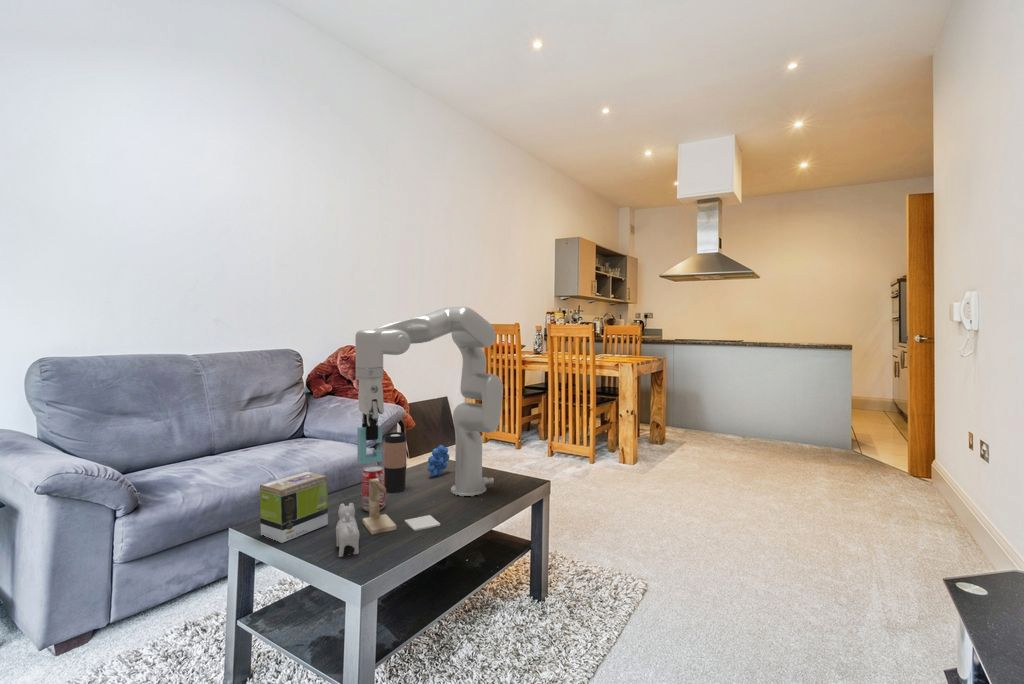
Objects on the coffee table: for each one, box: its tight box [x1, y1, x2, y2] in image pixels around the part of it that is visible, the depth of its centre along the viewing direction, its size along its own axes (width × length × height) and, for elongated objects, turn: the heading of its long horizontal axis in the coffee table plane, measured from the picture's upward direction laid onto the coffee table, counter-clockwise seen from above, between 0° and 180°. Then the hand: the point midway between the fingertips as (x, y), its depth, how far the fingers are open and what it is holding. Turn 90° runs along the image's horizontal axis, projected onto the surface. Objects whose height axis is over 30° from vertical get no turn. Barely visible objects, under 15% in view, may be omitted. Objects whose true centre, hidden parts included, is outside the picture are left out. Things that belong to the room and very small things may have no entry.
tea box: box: [259, 470, 329, 544], centre depth 137 cm, size 15×10×15 cm
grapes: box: [427, 444, 450, 477], centre depth 192 cm, size 12×7×12 cm, turn 145°
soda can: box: [361, 465, 386, 513], centre depth 155 cm, size 7×7×13 cm
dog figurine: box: [335, 502, 361, 558], centre depth 127 cm, size 5×13×11 cm, turn 26°
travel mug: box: [383, 431, 407, 494], centre depth 174 cm, size 8×8×20 cm
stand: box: [362, 478, 397, 535], centre depth 141 cm, size 7×11×12 cm, turn 32°
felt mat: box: [404, 514, 441, 532], centre depth 144 cm, size 8×8×1 cm
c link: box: [356, 424, 383, 465], centre depth 137 cm, size 6×4×10 cm, turn 121°
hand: (370, 437), depth 137 cm, fingers closed on c link, 3 cm apart
